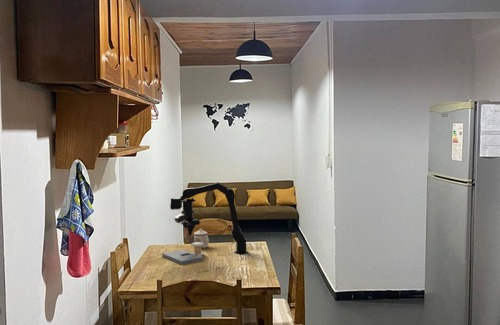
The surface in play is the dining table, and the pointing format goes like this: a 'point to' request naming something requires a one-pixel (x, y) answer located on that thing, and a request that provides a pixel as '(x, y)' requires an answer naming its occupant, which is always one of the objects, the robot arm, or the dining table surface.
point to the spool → (198, 248)
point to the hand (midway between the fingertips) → (188, 234)
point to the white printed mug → (201, 238)
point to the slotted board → (182, 257)
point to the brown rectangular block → (186, 234)
